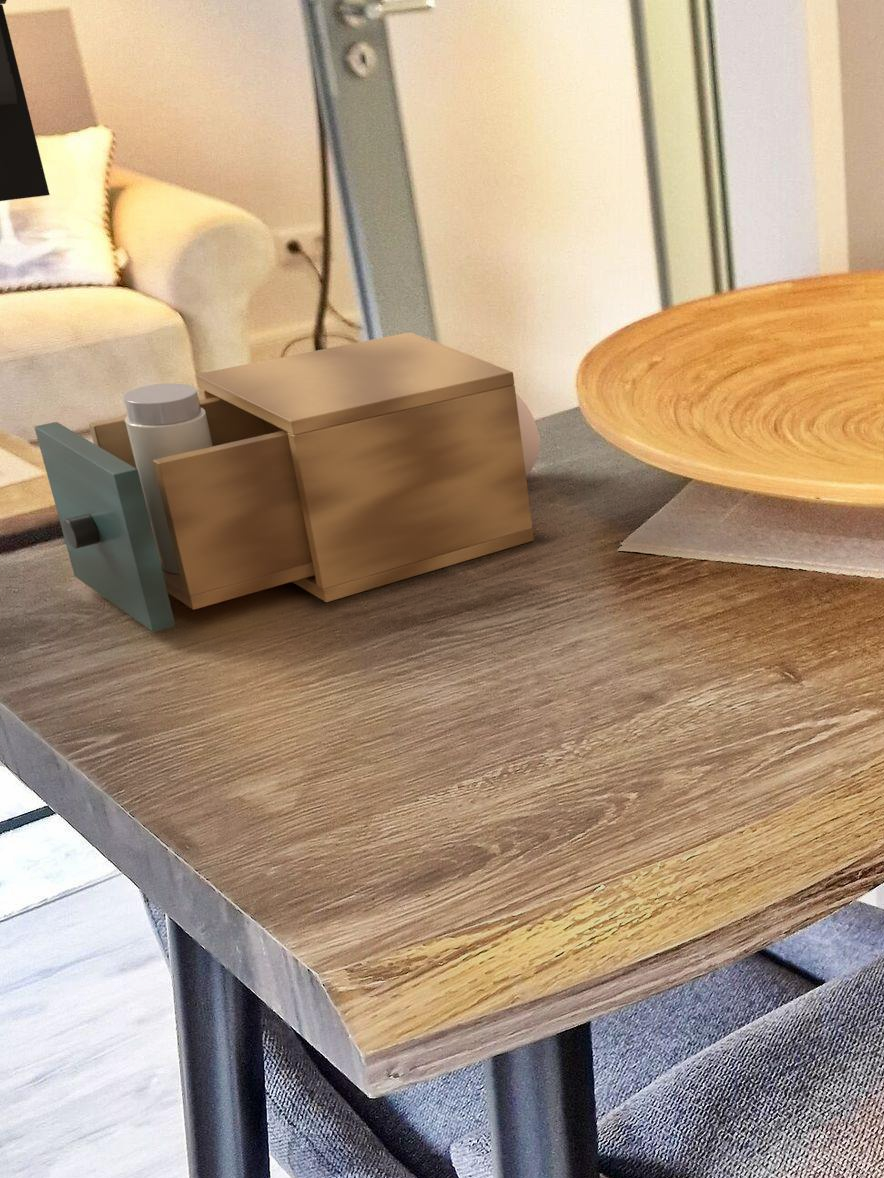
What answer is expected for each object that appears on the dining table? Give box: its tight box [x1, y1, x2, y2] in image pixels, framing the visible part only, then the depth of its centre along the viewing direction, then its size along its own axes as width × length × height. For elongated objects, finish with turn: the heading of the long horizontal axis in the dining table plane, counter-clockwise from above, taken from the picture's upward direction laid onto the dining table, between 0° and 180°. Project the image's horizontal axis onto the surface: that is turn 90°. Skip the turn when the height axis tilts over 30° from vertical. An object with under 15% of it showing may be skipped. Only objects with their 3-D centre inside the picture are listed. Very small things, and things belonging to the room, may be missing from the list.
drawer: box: [33, 397, 315, 633], centre depth 95 cm, size 14×10×9 cm
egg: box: [516, 393, 540, 477], centre depth 112 cm, size 5×5×7 cm
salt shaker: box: [122, 382, 213, 574], centre depth 94 cm, size 4×4×10 cm
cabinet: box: [195, 331, 535, 603], centre depth 101 cm, size 14×12×11 cm
